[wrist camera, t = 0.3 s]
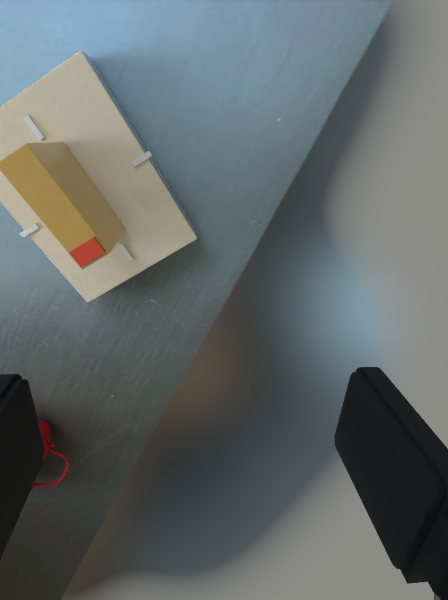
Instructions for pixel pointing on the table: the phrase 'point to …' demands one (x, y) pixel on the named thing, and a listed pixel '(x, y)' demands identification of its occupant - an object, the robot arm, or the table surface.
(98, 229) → the tan block
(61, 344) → the table surface
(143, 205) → the dial base plate
